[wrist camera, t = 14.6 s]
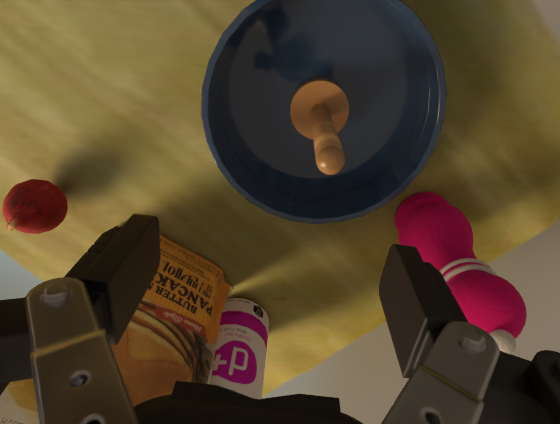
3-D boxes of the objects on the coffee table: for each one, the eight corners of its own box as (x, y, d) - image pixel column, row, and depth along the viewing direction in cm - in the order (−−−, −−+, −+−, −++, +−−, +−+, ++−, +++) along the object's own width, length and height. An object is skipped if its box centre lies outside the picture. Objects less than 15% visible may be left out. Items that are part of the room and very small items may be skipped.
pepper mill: (389, 244, 45) (447, 388, 28) (391, 189, 42) (459, 314, 24) (450, 240, 45) (550, 385, 27) (457, 185, 41) (577, 309, 24)
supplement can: (218, 287, 50) (188, 386, 36) (277, 304, 50) (269, 406, 37) (204, 329, 53) (173, 433, 40) (259, 344, 54) (247, 451, 41)
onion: (26, 167, 43) (-28, 196, 36) (76, 172, 43) (31, 202, 36) (37, 212, 45) (-12, 247, 38) (84, 216, 45) (44, 252, 38)
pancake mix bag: (225, 312, 51) (157, 585, 27) (95, 244, 47) (-130, 493, 22) (251, 280, 49) (201, 551, 24) (116, 205, 45) (-116, 439, 20)
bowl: (219, -32, 33) (204, -42, 28) (454, 0, 33) (484, -4, 28) (211, 186, 43) (199, 209, 37) (393, 209, 43) (407, 235, 38)
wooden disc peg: (294, 73, 36) (291, 112, 21) (351, 81, 36) (389, 125, 21) (287, 129, 39) (279, 201, 24) (340, 136, 39) (367, 212, 24)
